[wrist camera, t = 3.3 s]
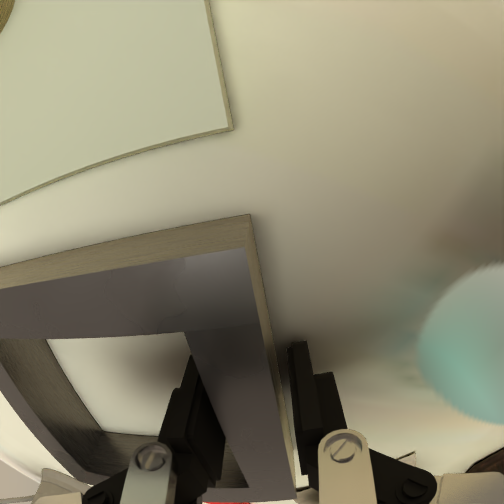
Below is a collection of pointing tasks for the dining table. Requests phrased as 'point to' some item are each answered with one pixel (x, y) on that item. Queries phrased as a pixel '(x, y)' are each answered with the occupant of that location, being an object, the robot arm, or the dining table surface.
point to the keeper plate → (103, 85)
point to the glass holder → (52, 487)
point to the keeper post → (5, 12)
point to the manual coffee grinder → (490, 464)
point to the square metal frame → (145, 323)
